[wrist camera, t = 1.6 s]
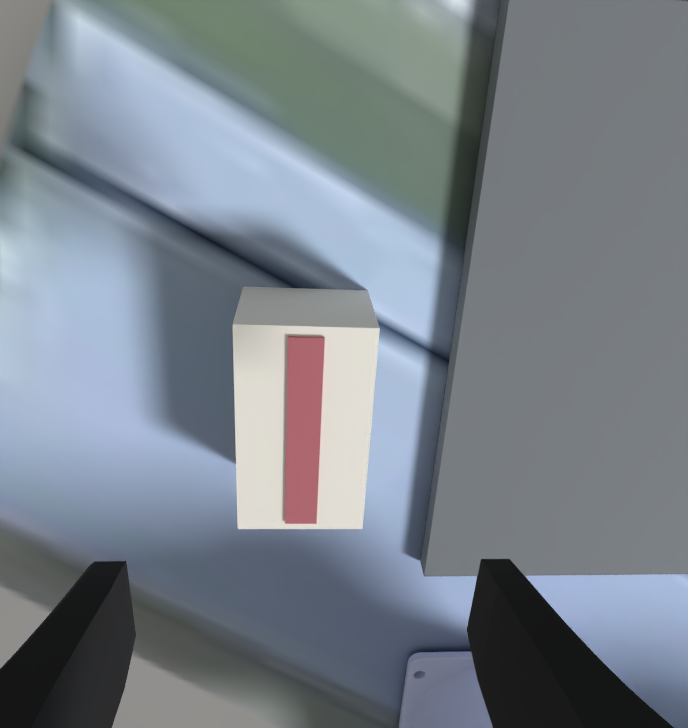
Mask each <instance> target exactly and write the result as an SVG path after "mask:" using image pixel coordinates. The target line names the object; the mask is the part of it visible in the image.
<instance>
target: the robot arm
mask: <svg viewBox="0 0 688 728" xmlns="http://www.w3.org/2000/svg"><path fill="white" fill-rule="evenodd" d="M467 633H468V638H469V643H470V648H471V651H462V652H419V653H415V654H413V655H412V656H410V657H409V660H408V664H407V671H406V678H405V685H404V692H403V699H402V706H401V713H400V720H399V727H398V728H673V727H672V726H671V725H670V724H669V723H668V722H667V721H665V720H664V719H663V718H662V717H661V716H660V715H658V714H657V713H656V712H655V711H654V710H653V709H652V708H650V707H649V706H648V705H647V704H646V703H645V702H644V701H642V700H641V699H640V698H639V697H638V696H637V695H636V694H635V693H634V692H633V691H632V690H630V689H629V688H628V687H627V686H626V685H625V684H624V683H623V682H622V681H621V680H620V679H619V678H618V677H617V676H616V675H615V674H614V673H613V672H612V671H611V670H610V669H609V668H608V667H607V666H606V665H605V664H604V663H603V662H602V661H601V660H600V659H599V658H598V657H597V656H596V655H595V654H594V653H593V652H592V651H591V650H590V649H589V648H588V647H587V646H586V644H585V643H584V642H583V641H582V640H581V639H580V638H579V637H578V636H577V635H576V634H575V633H574V632H573V630H572V629H571V628H570V627H569V626H568V625H567V624H566V623H565V622H564V621H563V620H562V618H561V617H560V616H559V615H558V614H557V613H556V612H555V611H554V609H553V608H552V607H551V606H550V605H549V604H548V603H547V601H546V600H545V599H544V598H543V597H542V596H541V595H540V593H539V592H538V591H537V590H536V589H535V588H534V586H533V585H532V584H531V583H530V582H529V581H528V579H527V578H526V577H525V576H524V575H523V574H522V572H521V571H520V570H519V569H518V568H517V567H516V565H515V564H514V563H513V562H512V561H511V560H510V559H481V561H480V566H479V571H478V576H477V581H476V586H475V592H474V597H473V602H472V607H471V612H470V617H469V622H468V627H467ZM135 636H136V634H135V626H134V619H133V611H132V603H131V595H130V588H129V580H128V572H127V564H126V561H113V562H94V563H92V564H91V565H90V566H89V567H88V568H87V570H86V571H85V572H84V573H83V575H82V576H81V577H80V578H79V580H78V581H77V582H76V583H75V584H74V586H73V587H72V588H71V589H70V591H69V592H68V593H67V594H66V595H65V597H64V598H63V599H62V600H61V601H60V603H59V604H58V605H57V606H56V607H55V609H54V610H53V611H52V612H51V613H50V614H49V616H48V617H47V618H46V619H45V620H44V622H43V623H42V624H41V625H40V626H39V627H38V628H37V629H36V630H35V632H34V633H33V634H32V635H31V636H30V637H29V638H28V640H27V641H26V642H25V643H24V644H23V645H22V646H21V647H20V648H19V650H18V651H17V652H16V653H15V654H14V655H13V656H12V657H11V658H10V659H9V660H8V661H7V662H6V663H5V665H4V666H3V667H2V668H1V669H0V728H112V725H113V722H114V718H115V716H116V713H117V710H118V707H119V704H120V700H121V697H122V694H123V691H124V688H125V683H126V679H127V674H128V670H129V665H130V660H131V656H132V651H133V646H134V641H135Z"/></svg>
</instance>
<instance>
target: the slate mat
mask: <svg viewBox="0 0 688 728" xmlns="http://www.w3.org/2000/svg"><path fill="white" fill-rule="evenodd" d="M481 559H510V560H511V561H512V562H513V563H514V564H515V565H516V567H517V568H518V569H519V570H520V571H521V572H522V574H523V575H632V574H688V1H680V0H500V7H499V14H498V21H497V28H496V35H495V42H494V49H493V56H492V63H491V70H490V77H489V84H488V91H487V98H486V105H485V112H484V119H483V126H482V133H481V140H480V147H479V154H478V161H477V168H476V175H475V182H474V189H473V196H472V203H471V210H470V217H469V224H468V231H467V238H466V245H465V252H464V260H463V267H462V274H461V281H460V288H459V295H458V302H457V309H456V316H455V323H454V330H453V337H452V344H451V351H450V358H449V365H448V372H447V379H446V386H445V393H444V400H443V407H442V414H441V421H440V428H439V435H438V442H437V449H436V456H435V463H434V470H433V477H432V484H431V491H430V498H429V505H428V512H427V519H426V527H425V534H424V541H423V548H422V555H421V566H422V570H423V574H424V576H478V571H479V566H480V561H481Z"/></svg>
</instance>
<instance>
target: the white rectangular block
mask: <svg viewBox="0 0 688 728" xmlns="http://www.w3.org/2000/svg"><path fill="white" fill-rule="evenodd" d="M379 330H380V328H379V325H378V322H377V318H376V315H375V312H374V309H373V306H372V303H371V300H370V296H369V293H368V290H340V289H308V288H276V287H244V286H243V289H242V292H241V296H240V299H239V303H238V306H237V310H236V314H235V317H234V321H233V363H234V403H235V443H236V482H237V522H238V529H362V528H363V516H364V505H365V493H366V481H367V470H368V458H369V446H370V435H371V423H372V411H373V400H374V388H375V376H376V365H377V353H378V341H379Z"/></svg>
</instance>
